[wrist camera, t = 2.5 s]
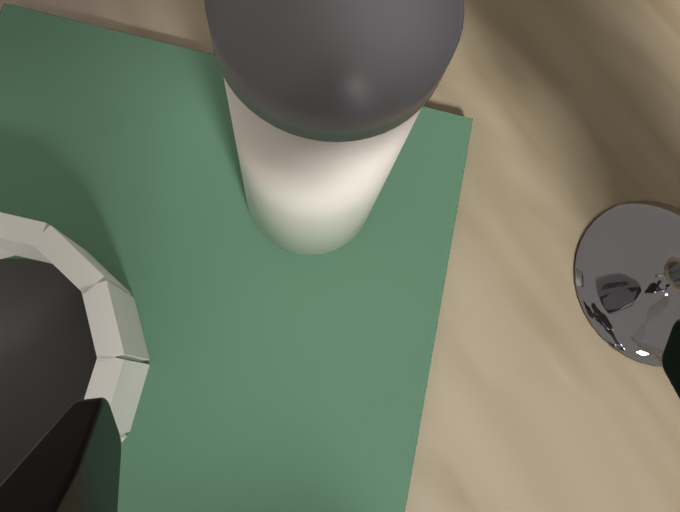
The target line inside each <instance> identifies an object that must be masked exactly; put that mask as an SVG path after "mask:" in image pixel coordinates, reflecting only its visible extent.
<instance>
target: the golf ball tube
mask: <svg viewBox="0 0 680 512" xmlns="http://www.w3.org/2000/svg"><path fill="white" fill-rule="evenodd" d="M205 9H206V14H207V19H208V24H209V29H210V34H211V39H212V44H213V48H214V53H215V57H216V60H217V63H218V66H219V68H220V71H221V73H222V75H223V77H224V82H225V88H226V93H227V99H228V104H229V109H230V115H231V120H232V125H233V131H234V136H235V141H236V147H237V152H238V157H239V163H240V168H241V173H242V179H243V184H244V189H245V195H246V200H247V205H248V209H249V213H250V215H251V218H252V220H253V222H254V224H255V225H256V227H257V228H258V230H259V231H260V232H261V233H262V234H263V235H264V236H265V237H266V238H267V239H268V240H269V241H270V242H272V243H273V244H275V245H276V246H278V247H280V248H282V249H284V250H286V251H289V252H293V253H297V254H303V255H317V254H323V253H328V252H331V251H333V250H336V249H338V248H340V247H342V246H344V245H345V244H347V243H348V242H349V241H351V240H352V239H353V238H354V237H355V236H356V235H357V234H358V232H359V231H360V230H361V228H362V227H363V225H364V224H365V222H366V220H367V218H368V216H369V213H370V211H371V209H372V207H373V205H374V203H375V201H376V199H377V197H378V195H379V193H380V191H381V189H382V187H383V185H384V183H385V181H386V179H387V177H388V175H389V173H390V171H391V169H392V167H393V165H394V163H395V161H396V159H397V157H398V155H399V153H400V151H401V149H402V147H403V145H404V143H405V141H406V139H407V136H408V134H409V132H410V130H411V128H412V126H413V124H414V122H415V120H416V118H417V116H418V114H419V112H420V110H421V108H422V107H423V106H424V105H425V103H426V102H427V101H428V100H429V99H430V97H431V96H432V94H433V92H434V91H435V89H436V88H437V86H438V84H439V82H440V80H441V78H442V76H443V74H444V72H445V70H446V68H447V66H448V64H449V63H450V61H451V59H452V57H453V55H454V52H455V50H456V48H457V45H458V43H459V40H460V36H461V32H462V29H463V21H464V0H205Z"/></svg>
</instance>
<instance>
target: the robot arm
mask: <svg viewBox="0 0 680 512" xmlns="http://www.w3.org/2000/svg"><path fill="white" fill-rule="evenodd" d="M662 365H663V369H664V371H665V373H666V375H667V377H668V378H669V380H670V382H671V384H672V386H673V387H674V389H675V391H676V393H677V395H678V396H679V398H680V319H678V320H677V321H676V322H675V323H674V324H673V326H672V329H671V332H670V335H669V337H668V340H667V343H666V346H665V348H664V351H663V354H662ZM120 464H121V438H120V434H119V431H118V428H117V425H116V422H115V419H114V416H113V413H112V410H111V407H110V405H109V402H108V401H107V400H106V399H105V398H102V397H99V398H91V399H84V400H79V401H76V402H75V403H73V404H72V405H71V406H70V407H69V408H68V410H67V411H66V412H65V413H64V414H63V415H62V416H61V417H60V418H59V420H58V421H57V422H56V423H55V424H54V425H53V426H52V427H51V429H50V430H49V431H48V432H47V433H46V434H45V435H44V436H43V438H42V439H41V440H40V441H39V442H38V443H37V444H36V445H35V447H34V448H33V449H32V450H31V451H30V452H29V453H28V454H27V456H26V457H25V458H24V459H23V460H22V461H21V462H20V463H19V464H18V466H17V467H16V468H15V469H14V470H13V471H12V472H11V473H10V475H9V476H8V477H7V478H6V479H5V480H4V481H3V482H2V484H1V485H0V512H117V509H118V494H119V479H120Z"/></svg>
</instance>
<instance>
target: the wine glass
mask: <svg viewBox="0 0 680 512" xmlns="http://www.w3.org/2000/svg"><path fill="white" fill-rule="evenodd" d="M574 280H575V287H576V291H577V296H578V299H579V302H580V304H581V307H582V309H583V312H584V314H585V315H586V317H587V319H588V321H589V322H590V324H591V326H592V327H593V328H594V329H595V330H596V332H597V333H598V334H599V335H600V337H601V338H602V339H603V340H605V341H606V342H607V343H608V344H609V345H610V346H611V347H612V348H614V349H615V350H617V351H618V352H620V353H621V354H623V355H625V356H626V357H628V358H631V359H633V360H635V361H638V362H640V363H644V364H648V365H652V366H662V367H663V365H662V354H663V351H664V348H665V346H666V343H667V340H668V337H669V335H670V332H671V329H672V326H673V324H674V323H675V322H676V321H677V320H678V319H680V210H679V209H677V208H675V207H672V206H670V205H666V204H662V203H658V202H651V201H634V202H627V203H624V204H620V205H617V206H615V207H613V208H611V209H609V210H607V211H605V212H604V213H602V214H601V215H600V216H599V217H597V218H596V219H595V220H594V221H593V222H592V223H591V225H590V226H589V227H588V228H587V229H586V231H585V233H584V235H583V237H582V238H581V240H580V243H579V246H578V249H577V252H576V256H575V264H574Z"/></svg>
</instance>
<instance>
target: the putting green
mask: <svg viewBox="0 0 680 512" xmlns="http://www.w3.org/2000/svg"><path fill="white" fill-rule="evenodd" d="M472 121H473V119H472V118H468V117H464V116H460V115H456V114H452V113H448V112H444V111H440V110H436V109H432V108H427V107H422V108H421V110H420V112H419V114H418V116H417V118H416V120H415V122H414V124H413V126H412V128H411V130H410V132H409V134H408V136H407V139H406V141H405V143H404V145H403V147H402V149H401V151H400V153H399V155H398V157H397V159H396V161H395V163H394V165H393V167H392V169H391V171H390V173H389V175H388V177H387V179H386V181H385V183H384V185H383V187H382V189H381V191H380V193H379V195H378V197H377V199H376V201H375V203H374V205H373V207H372V209H371V211H370V213H369V216H368V218H367V220H366V222H365V224H364V225H363V227H362V228H361V230H360V231H359V232H358V234H357V235H356V236H355V237H354V238H353V239H352V240H351V241H349V242H348V243H347V244H345V245H344V246H342V247H340V248H338V249H336V250H333V251H331V252H328V253H323V254H317V255H303V254H297V253H293V252H289V251H286V250H284V249H282V248H280V247H278V246H276V245H275V244H273V243H272V242H270V241H269V240H268V239H267V238H266V237H265V236H264V235H263V234H262V233H261V232H260V231H259V230H258V228H257V227H256V225H255V224H254V222H253V220H252V218H251V215H250V213H249V209H248V205H247V200H246V195H245V189H244V184H243V179H242V173H241V168H240V163H239V157H238V152H237V147H236V141H235V136H234V131H233V125H232V120H231V115H230V109H229V104H228V99H227V93H226V88H225V82H224V77H223V75H222V73H221V71H220V68H219V66H218V63H217V60H216V57H215V55H212V54H208V53H204V52H200V51H196V50H192V49H188V48H184V47H180V46H176V45H172V44H168V43H164V42H160V41H156V40H151V39H147V38H143V37H139V36H135V35H131V34H127V33H123V32H119V31H115V30H111V29H107V28H103V27H99V26H95V25H91V24H87V23H82V22H78V21H74V20H70V19H66V18H62V17H58V16H54V15H50V14H46V13H42V12H38V11H34V10H30V9H26V8H22V7H18V6H13V5H9V4H5V3H4V5H3V7H2V10H1V12H0V485H1V484H2V482H3V481H4V480H5V479H6V478H7V477H8V476H9V475H10V473H11V472H12V471H13V470H14V469H15V468H16V467H17V466H18V464H19V463H20V462H21V461H22V460H23V459H24V458H25V457H26V456H27V454H28V453H29V452H30V451H31V450H32V449H33V448H34V447H35V445H36V444H37V443H38V442H39V441H40V440H41V439H42V438H43V436H44V435H45V434H46V433H47V432H48V431H49V430H50V429H51V427H52V426H53V425H54V424H55V423H56V422H57V421H58V420H59V418H60V417H61V416H62V415H63V414H64V413H65V412H66V411H67V410H68V408H69V407H70V406H71V405H72V404H73V403H75V402H76V401H79V400H84V399H91V398H99V397H102V398H105V399H106V400H107V401H108V402H109V405H110V407H111V410H112V413H113V416H114V419H115V422H116V425H117V428H118V431H119V434H120V438H121V464H120V479H119V494H118V509H117V512H405V508H406V502H407V496H408V491H409V485H410V479H411V473H412V467H413V462H414V456H415V450H416V444H417V439H418V433H419V427H420V421H421V415H422V410H423V404H424V398H425V392H426V387H427V381H428V375H429V369H430V363H431V358H432V352H433V346H434V340H435V334H436V329H437V323H438V317H439V311H440V306H441V300H442V294H443V288H444V282H445V277H446V271H447V265H448V259H449V254H450V248H451V242H452V236H453V230H454V225H455V219H456V213H457V207H458V202H459V196H460V190H461V184H462V178H463V173H464V167H465V161H466V155H467V149H468V144H469V138H470V132H471V126H472Z"/></svg>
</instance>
